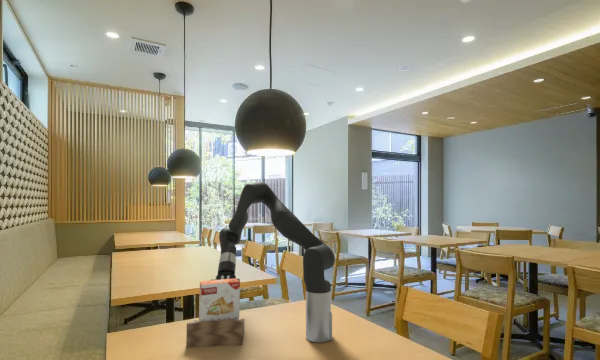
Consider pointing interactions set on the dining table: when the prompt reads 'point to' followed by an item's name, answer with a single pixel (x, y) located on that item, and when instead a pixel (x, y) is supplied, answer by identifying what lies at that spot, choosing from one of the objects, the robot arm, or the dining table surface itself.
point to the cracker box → (219, 300)
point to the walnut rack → (215, 333)
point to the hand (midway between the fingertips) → (223, 300)
